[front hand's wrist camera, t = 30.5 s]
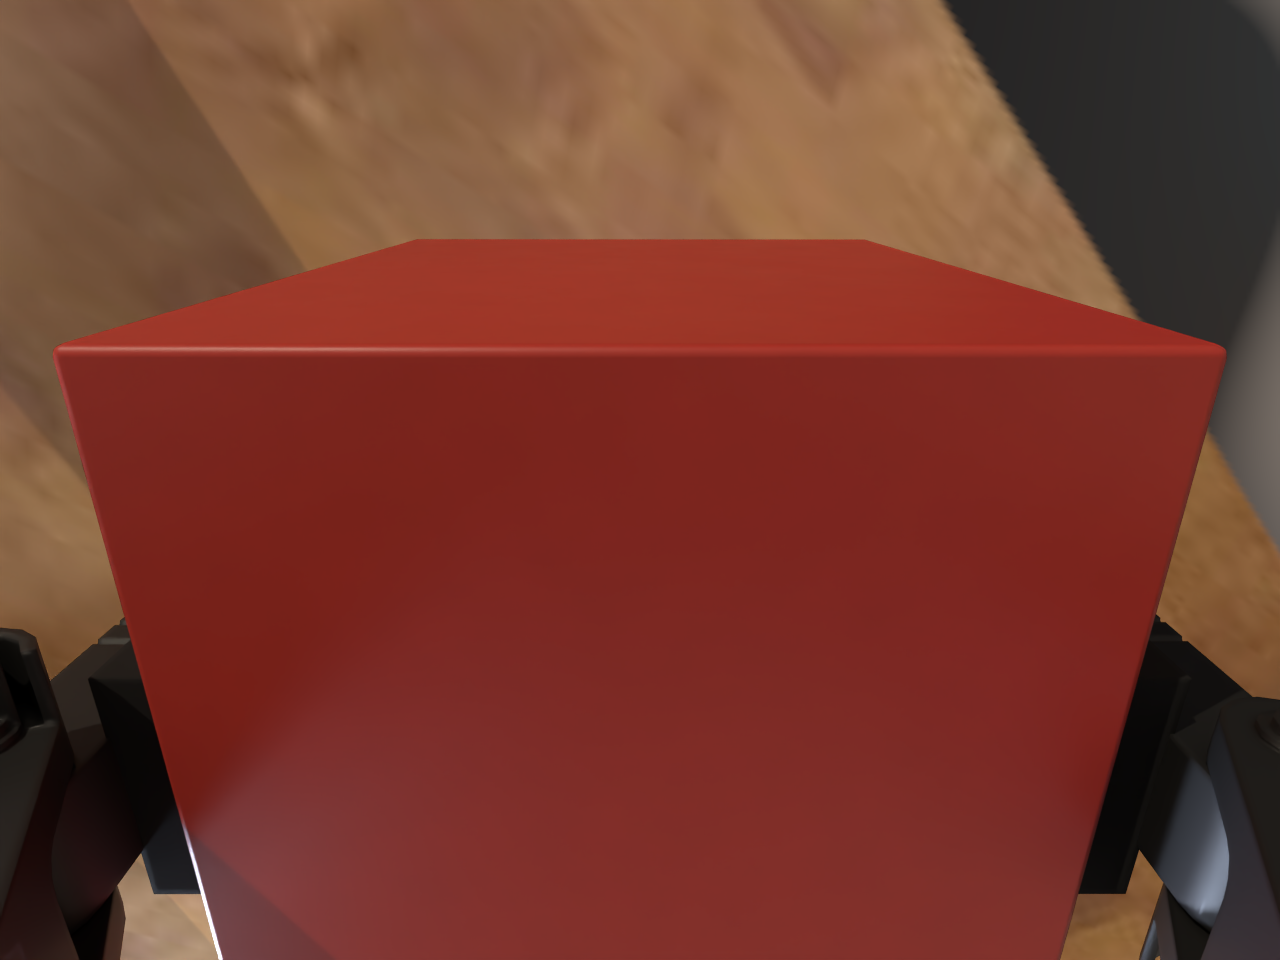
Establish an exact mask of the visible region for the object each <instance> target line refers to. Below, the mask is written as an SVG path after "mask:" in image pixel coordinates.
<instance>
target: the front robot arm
mask: <svg viewBox="0 0 1280 960" xmlns="http://www.w3.org/2000/svg"><path fill="white" fill-rule="evenodd" d="M1139 850H1140V851H1141V853H1142V854H1143V855H1144V857H1145V858H1146V859H1147V861H1148V862H1149V863H1150V865H1151V866H1152V867H1153V869H1154V870H1155V872H1156V873H1157V874H1158V876H1159V877H1160V878H1161V880H1162V881H1163V882H1164V883H1163V886H1162V889H1161V892H1160V895H1159V898H1158V901H1157V904H1156V907H1155V910H1154V913H1153V916H1152V919H1151V923H1150V926H1149V929H1148V932H1147V935H1146V938H1145V941H1144V944H1143V947H1142V950H1141V953H1140V958H1139V960H1155V958H1156V957H1158V956H1160V960H1280V700H1277V699H1269V698H1262V697H1252V696H1251V695H1250V694H1249V693H1247V692H1246V691H1245V690H1244V689H1243V688H1242V687H1240V686H1239V685H1238V684H1237V683H1236V682H1235V681H1233V680H1232V679H1231V678H1230V677H1229V676H1228V675H1226V674H1225V673H1224V672H1223V671H1222V670H1221V669H1219V668H1218V667H1217V666H1216V665H1215V664H1214V663H1212V662H1211V661H1210V660H1209V659H1208V658H1207V657H1205V656H1204V655H1203V654H1202V653H1201V652H1200V651H1198V650H1197V649H1196V648H1195V647H1194V646H1192V645H1191V644H1190V643H1189V642H1188V641H1182V636H1181V635H1180V634H1178V633H1177V632H1176V631H1175V630H1174V629H1173V628H1171V627H1170V626H1169V625H1168V624H1167V623H1166V622H1161V621H1160V617H1159V616H1157V615H1155V619H1154V622H1153V626H1152V629H1151V633H1150V637H1149V640H1148V644H1147V647H1146V651H1145V655H1144V658H1143V662H1142V666H1141V669H1140V673H1139V676H1138V680H1137V684H1136V687H1135V691H1134V694H1133V698H1132V702H1131V705H1130V709H1129V712H1128V716H1127V720H1126V723H1125V727H1124V730H1123V734H1122V738H1121V741H1120V745H1119V749H1118V752H1117V756H1116V759H1115V763H1114V767H1113V770H1112V774H1111V777H1110V781H1109V785H1108V788H1107V792H1106V795H1105V799H1104V803H1103V806H1102V810H1101V813H1100V817H1099V821H1098V824H1097V828H1096V832H1095V835H1094V839H1093V842H1092V846H1091V850H1090V853H1089V857H1088V860H1087V864H1086V868H1085V871H1084V875H1083V878H1082V882H1081V886H1080V889H1079V893H1078V894H1126V891H1127V887H1128V884H1129V881H1130V878H1131V874H1132V871H1133V868H1134V865H1135V861H1136V858H1137V855H1138V852H1139ZM140 853H141V854H142V857H143V860H144V863H145V867H146V870H147V873H148V876H149V880H150V883H151V886H152V889H153V893H154V894H201V891H200V888H199V884H198V881H197V877H196V873H195V870H194V866H193V862H192V859H191V855H190V852H189V848H188V844H187V841H186V837H185V833H184V830H183V826H182V823H181V819H180V815H179V812H178V808H177V805H176V801H175V797H174V794H173V790H172V786H171V783H170V779H169V776H168V772H167V768H166V765H165V761H164V758H163V754H162V750H161V747H160V743H159V739H158V736H157V732H156V729H155V725H154V721H153V718H152V714H151V710H150V707H149V703H148V700H147V696H146V692H145V689H144V685H143V682H142V678H141V674H140V671H139V667H138V663H137V660H136V656H135V653H134V649H133V645H132V642H131V638H130V634H129V631H128V627H127V624H126V620H125V617H124V618H123V619H122V620H120V625H115V626H113V627H112V628H111V629H110V630H109V631H108V632H107V633H105V634H104V635H103V636H102V637H101V638H100V639H98V644H93V645H91V646H90V647H89V648H88V649H87V650H86V651H84V652H83V653H82V654H81V655H80V656H79V657H78V658H76V659H75V660H74V661H73V662H72V663H71V664H69V665H68V666H67V667H66V668H65V669H64V670H62V671H61V672H60V673H59V674H58V675H57V676H56V677H54V678H53V679H52V680H51V681H50V680H49V677H48V674H47V671H46V667H45V664H44V661H43V658H42V655H41V652H40V649H39V646H38V643H37V640H36V637H35V636H33V635H31V634H29V633H27V632H25V631H24V630H20V629H8V628H0V960H120V955H121V948H122V941H123V933H124V926H125V919H126V918H125V912H124V906H123V901H122V898H121V895H120V892H119V889H118V886H117V885H118V883H119V882H120V881H121V879H122V878H123V877H124V875H125V874H126V873H127V871H128V870H129V868H130V867H131V866H132V864H133V863H134V862H135V860H136V859H137V858H138V856H139V855H140Z"/></svg>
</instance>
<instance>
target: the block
mask: <svg viewBox="0 0 1280 960" xmlns="http://www.w3.org/2000/svg"><path fill="white" fill-rule="evenodd" d="M53 359H54V363H55V367H56V370H57V374H58V378H59V381H60V385H61V388H62V392H63V396H64V399H65V403H66V407H67V410H68V414H69V417H70V421H71V425H72V428H73V432H74V435H75V439H76V443H77V446H78V450H79V454H80V457H81V461H82V464H83V468H84V472H85V475H86V479H87V483H88V486H89V490H90V493H91V497H92V501H93V504H94V508H95V511H96V515H97V519H98V522H99V526H100V530H101V533H102V537H103V540H104V544H105V548H106V551H107V555H108V558H109V562H110V566H111V569H112V573H113V577H114V580H115V584H116V587H117V591H118V595H119V598H120V602H121V606H122V609H123V613H124V616H125V620H126V624H127V627H128V631H129V634H130V638H131V642H132V645H133V649H134V653H135V656H136V660H137V663H138V667H139V671H140V674H141V678H142V682H143V685H144V689H145V692H146V696H147V700H148V703H149V707H150V710H151V714H152V718H153V721H154V725H155V729H156V732H157V736H158V739H159V743H160V747H161V750H162V754H163V758H164V761H165V765H166V768H167V772H168V776H169V779H170V783H171V786H172V790H173V794H174V797H175V801H176V805H177V808H178V812H179V815H180V819H181V823H182V826H183V830H184V833H185V837H186V841H187V844H188V848H189V852H190V855H191V859H192V862H193V866H194V870H195V873H196V877H197V881H198V884H199V888H200V891H201V895H202V899H203V902H204V906H205V909H206V913H207V917H208V920H209V924H210V928H211V931H212V935H213V938H214V942H215V946H216V949H217V953H218V957H219V960H1060V958H1061V954H1062V951H1063V947H1064V943H1065V940H1066V936H1067V933H1068V929H1069V925H1070V922H1071V918H1072V915H1073V911H1074V907H1075V904H1076V900H1077V896H1078V893H1079V889H1080V886H1081V882H1082V878H1083V875H1084V871H1085V868H1086V864H1087V860H1088V857H1089V853H1090V850H1091V846H1092V842H1093V839H1094V835H1095V832H1096V828H1097V824H1098V821H1099V817H1100V813H1101V810H1102V806H1103V803H1104V799H1105V795H1106V792H1107V788H1108V785H1109V781H1110V777H1111V774H1112V770H1113V767H1114V763H1115V759H1116V756H1117V752H1118V749H1119V745H1120V741H1121V738H1122V734H1123V730H1124V727H1125V723H1126V720H1127V716H1128V712H1129V709H1130V705H1131V702H1132V698H1133V694H1134V691H1135V687H1136V684H1137V680H1138V676H1139V673H1140V669H1141V666H1142V662H1143V658H1144V655H1145V651H1146V647H1147V644H1148V640H1149V637H1150V633H1151V629H1152V626H1153V622H1154V619H1155V615H1156V611H1157V608H1158V604H1159V601H1160V597H1161V593H1162V590H1163V586H1164V583H1165V579H1166V575H1167V572H1168V568H1169V565H1170V561H1171V557H1172V554H1173V550H1174V546H1175V543H1176V539H1177V536H1178V532H1179V528H1180V525H1181V521H1182V518H1183V514H1184V510H1185V507H1186V503H1187V500H1188V496H1189V492H1190V489H1191V485H1192V482H1193V478H1194V474H1195V471H1196V467H1197V463H1198V460H1199V456H1200V453H1201V449H1202V445H1203V442H1204V438H1205V435H1206V431H1207V427H1208V424H1209V420H1210V416H1211V413H1212V409H1213V406H1214V402H1215V399H1216V395H1217V391H1218V388H1219V384H1220V380H1221V377H1222V373H1223V370H1224V366H1225V362H1226V359H1227V356H1226V350H1225V349H1224V348H1223V347H1221V346H1219V345H1217V344H1215V343H1211V342H1208V341H1205V340H1201V339H1198V338H1195V337H1191V336H1188V335H1184V334H1181V333H1178V332H1174V331H1171V330H1168V329H1164V328H1161V327H1157V326H1154V325H1151V324H1147V323H1144V322H1141V321H1137V320H1134V319H1130V318H1127V317H1124V316H1120V315H1117V314H1114V313H1110V312H1107V311H1103V310H1100V309H1097V308H1093V307H1090V306H1087V305H1083V304H1080V303H1076V302H1073V301H1070V300H1066V299H1063V298H1060V297H1056V296H1053V295H1049V294H1046V293H1043V292H1039V291H1036V290H1033V289H1029V288H1026V287H1022V286H1019V285H1016V284H1012V283H1009V282H1006V281H1002V280H999V279H995V278H992V277H989V276H985V275H982V274H978V273H975V272H972V271H968V270H965V269H962V268H958V267H955V266H951V265H948V264H945V263H941V262H938V261H935V260H931V259H928V258H924V257H921V256H918V255H914V254H911V253H908V252H904V251H901V250H897V249H894V248H891V247H887V246H884V245H881V244H877V243H874V242H870V241H867V240H540V239H417V240H413V241H410V242H406V243H403V244H400V245H396V246H393V247H389V248H386V249H382V250H379V251H376V252H372V253H369V254H365V255H362V256H359V257H355V258H352V259H348V260H345V261H342V262H338V263H335V264H331V265H328V266H324V267H321V268H318V269H314V270H311V271H307V272H304V273H301V274H297V275H294V276H290V277H287V278H284V279H280V280H277V281H273V282H270V283H267V284H263V285H260V286H256V287H253V288H249V289H246V290H243V291H239V292H236V293H232V294H229V295H226V296H222V297H219V298H215V299H212V300H209V301H205V302H202V303H198V304H195V305H192V306H188V307H185V308H181V309H178V310H174V311H171V312H168V313H164V314H161V315H157V316H154V317H151V318H147V319H144V320H140V321H137V322H134V323H130V324H127V325H123V326H120V327H116V328H113V329H110V330H106V331H103V332H99V333H96V334H93V335H89V336H86V337H82V338H79V339H76V340H72V341H69V342H65V343H63V344H61V345H59V346H57V347H56V348H55V349H54V351H53Z"/></svg>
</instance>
